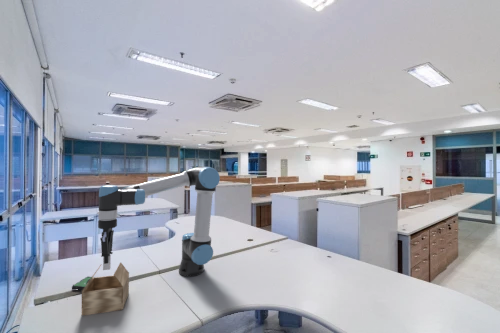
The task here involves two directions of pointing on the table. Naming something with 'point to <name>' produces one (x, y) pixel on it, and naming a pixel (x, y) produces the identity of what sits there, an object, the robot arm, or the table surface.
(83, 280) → the disk drive
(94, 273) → the far side flap
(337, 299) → the table surface
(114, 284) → the carton
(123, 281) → the flap
